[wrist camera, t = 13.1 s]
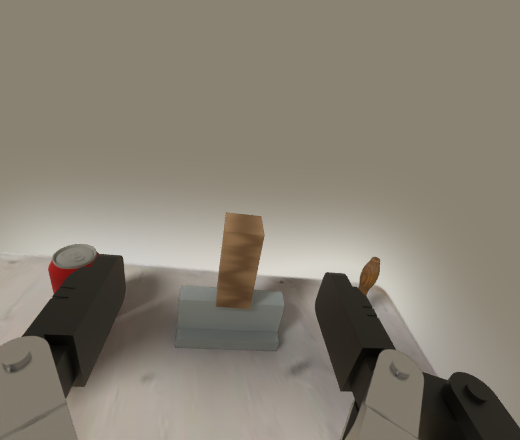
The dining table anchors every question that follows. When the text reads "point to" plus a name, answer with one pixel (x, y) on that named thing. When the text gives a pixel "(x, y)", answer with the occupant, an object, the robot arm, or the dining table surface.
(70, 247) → the beverage can
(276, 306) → the ridge
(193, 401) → the dining table surface
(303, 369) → the dining table surface
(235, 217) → the walnut post
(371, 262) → the hand bell
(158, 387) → the dining table surface
